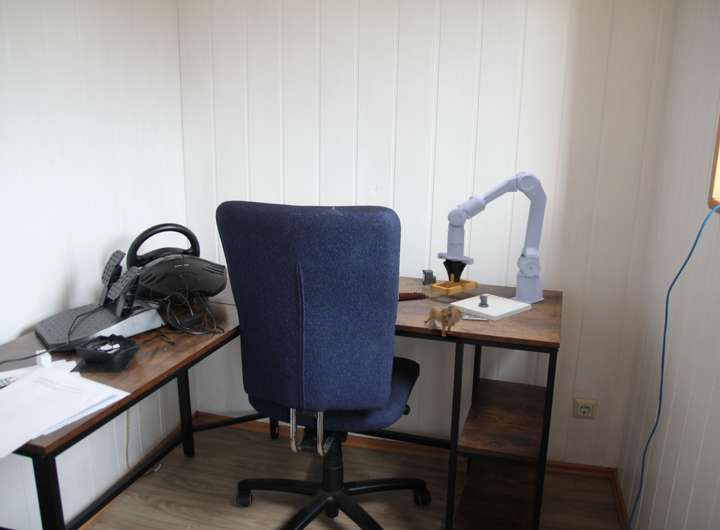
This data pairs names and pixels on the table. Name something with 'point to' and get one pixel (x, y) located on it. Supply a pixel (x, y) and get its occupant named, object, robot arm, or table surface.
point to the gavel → (412, 296)
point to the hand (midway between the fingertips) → (454, 281)
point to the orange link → (453, 286)
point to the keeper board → (491, 306)
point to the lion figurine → (445, 317)
